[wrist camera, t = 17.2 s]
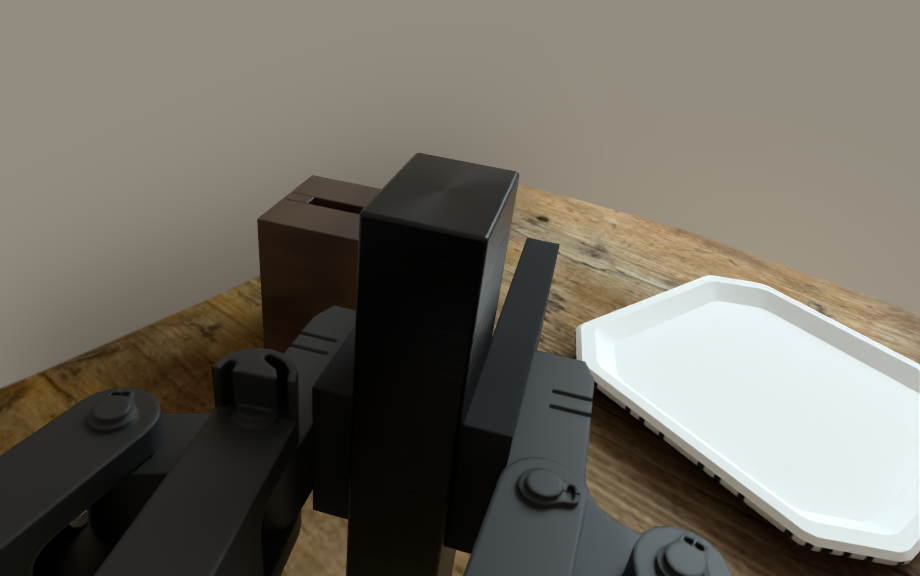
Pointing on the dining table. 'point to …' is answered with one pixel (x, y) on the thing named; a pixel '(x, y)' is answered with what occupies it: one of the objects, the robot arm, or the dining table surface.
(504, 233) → the knife
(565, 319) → the dining table surface
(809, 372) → the plate
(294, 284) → the knife block
